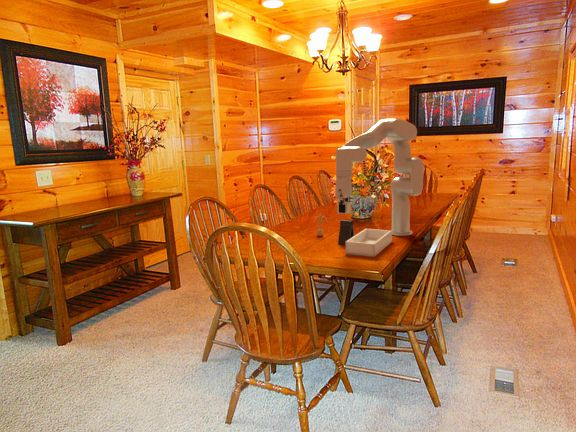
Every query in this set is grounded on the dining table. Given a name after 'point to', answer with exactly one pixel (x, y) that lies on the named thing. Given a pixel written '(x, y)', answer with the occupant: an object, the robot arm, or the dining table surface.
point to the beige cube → (347, 208)
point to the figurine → (320, 231)
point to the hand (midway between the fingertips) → (344, 211)
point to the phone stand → (345, 231)
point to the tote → (368, 242)
